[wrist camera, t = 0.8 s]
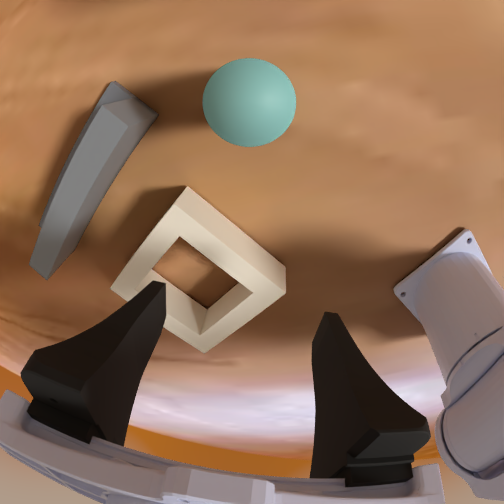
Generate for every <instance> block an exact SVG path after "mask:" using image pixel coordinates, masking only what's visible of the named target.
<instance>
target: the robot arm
mask: <svg viewBox="0 0 504 504" xmlns="http://www.w3.org/2000/svg"><path fill="white" fill-rule="evenodd" d="M469 238H470V239H469ZM468 239H469V240H468ZM467 240H468V241H467ZM393 291H394V293H395V295H396V296H397V297H398V298H399V299H400V300H401V301H402V303H403V304H404V305H405V306H406V307H407V308H408V309H409V310H410V311H411V313H412V314H413V315H414V316H415V317H416V318H417V319H418V321H419V322H420V323H421V324H422V325H423V328H424V330H425V332H426V335H427V337H428V339H429V342H430V344H431V347H432V349H433V352H434V354H435V357H436V359H437V362H438V365H439V367H440V370H441V373H442V375H443V378H444V381H445V384H446V386H447V388H446V390H445V391H444V393H443V394H442V395H441V398H442V401H443V405H444V408H445V409H443V410H442V412H441V413H440V414H439V416H438V418H437V421H436V424H435V440H436V445H437V448H438V451H439V454H440V456H441V458H442V459H443V461H444V462H445V464H446V465H447V466H448V467H449V468H450V469H451V470H452V471H453V472H454V473H456V474H457V475H459V476H460V477H462V478H463V479H464V480H465V481H466V482H467V483H468V484H469V486H470V488H471V489H472V491H473V493H474V494H475V496H476V497H479V498H484V499H491V500H501V501H504V290H503V288H502V287H501V286H500V284H499V283H498V282H497V280H496V279H495V278H494V276H493V275H492V273H491V271H490V268H489V266H488V264H487V262H486V260H485V258H484V256H483V254H482V252H481V250H480V248H479V246H478V244H477V242H476V240H475V238H474V236H473V235H472V233H471V231H470V230H469V229H464V230H463V231H462V232H460V233H459V234H458V235H457V236H456V237H455V238H454V239H452V240H451V241H450V242H449V243H448V244H447V245H445V246H444V247H443V248H442V249H441V250H440V251H438V252H437V253H436V254H435V255H434V256H432V257H431V258H430V259H429V260H427V261H426V262H425V263H424V264H422V265H421V266H420V267H419V268H417V269H416V270H415V271H414V272H412V273H411V274H410V275H409V276H407V277H406V278H405V279H403V280H402V281H401V282H400V283H398V284H397V285H396V286H395V287H394V289H393ZM402 292H404V293H403V294H401V293H402ZM165 319H166V283H163V282H159V281H154V280H153V281H152V282H150V283H149V284H148V285H147V286H146V287H145V288H144V289H142V290H141V291H140V292H139V293H138V294H137V295H136V296H134V297H133V298H132V299H131V300H130V301H128V302H127V303H126V304H125V305H124V306H122V307H121V308H120V309H118V310H117V311H116V312H114V313H113V314H112V315H110V316H109V317H108V318H106V319H105V320H103V321H102V322H100V323H98V324H97V325H95V326H94V327H92V328H90V329H88V330H86V331H84V332H82V333H80V334H78V335H76V336H74V337H72V338H70V339H67V340H65V341H62V342H60V343H57V344H54V345H51V346H48V347H44V348H41V349H38V350H35V351H34V353H33V354H32V355H31V357H30V358H29V360H28V362H27V363H26V365H25V366H24V368H23V370H22V371H21V378H22V380H23V382H24V384H25V385H26V387H27V389H28V390H29V392H30V393H31V395H32V396H33V400H32V402H31V403H30V402H29V401H27V400H26V399H24V398H23V397H21V396H19V395H17V394H15V393H13V392H12V391H10V390H6V391H5V393H4V394H3V396H2V398H1V400H0V447H1V448H2V449H3V450H5V451H6V452H7V453H8V454H9V455H10V456H12V457H14V458H15V459H17V460H19V461H20V462H22V463H24V464H25V465H27V466H29V467H30V468H32V469H34V470H36V471H38V472H39V473H41V474H43V475H44V476H46V477H48V478H50V479H52V480H54V481H56V482H58V483H59V484H61V485H64V486H65V487H67V488H69V489H72V490H74V491H76V492H78V493H80V494H82V495H84V496H86V497H89V498H91V499H93V500H96V501H98V502H100V503H103V504H445V499H444V492H443V486H442V481H441V475H440V470H439V465H438V464H437V463H435V464H429V465H422V466H417V467H414V468H412V466H411V463H412V462H414V455H413V454H414V453H415V452H416V451H418V450H419V449H420V448H421V447H423V446H424V445H425V444H426V443H427V442H428V441H429V439H430V437H431V434H430V430H429V425H428V422H427V419H426V417H425V416H423V415H422V414H420V413H419V412H418V411H416V410H415V409H413V408H412V407H411V406H409V405H408V404H407V403H406V402H405V401H403V400H402V399H401V398H400V397H399V396H398V395H397V394H395V393H394V392H393V391H392V390H391V389H390V388H389V387H388V386H387V385H386V383H385V382H384V381H383V380H382V379H381V378H380V377H379V376H378V374H377V373H376V372H375V371H374V370H373V368H372V367H371V366H370V364H369V363H368V362H367V360H366V359H365V357H364V356H363V355H362V353H361V352H360V350H359V348H358V347H357V345H356V344H355V342H354V340H353V339H352V337H351V335H350V334H349V332H348V330H347V329H346V327H345V325H344V323H343V322H342V320H341V318H340V317H339V315H338V313H331V312H325V313H324V315H323V318H322V320H321V323H320V325H319V327H318V330H317V332H316V335H315V337H314V339H313V342H312V371H313V382H314V392H315V406H316V414H315V434H314V447H313V456H312V465H311V472H310V478H288V477H274V476H262V475H253V474H244V473H237V472H229V471H224V470H217V469H211V468H206V467H201V466H195V465H191V464H186V463H181V462H177V461H173V460H169V459H165V458H161V457H157V456H153V455H150V454H146V453H143V452H139V451H136V450H132V449H129V448H126V447H124V441H125V437H126V432H127V427H128V423H129V419H130V415H131V411H132V407H133V404H134V400H135V396H136V393H137V390H138V387H139V383H140V380H141V377H142V375H143V372H144V370H145V368H146V366H147V363H148V361H149V359H150V357H151V355H152V352H153V350H154V348H155V346H156V344H157V341H158V339H159V337H160V335H161V332H162V329H163V325H164V322H165Z"/></svg>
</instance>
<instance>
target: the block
mask: <svg viewBox="0 0 504 504" xmlns="http://www.w3.org/2000/svg"><path fill="white" fill-rule="evenodd" d="M179 236H180V237H181V238H183V239H184V240H185V241H187V242H188V243H189V244H190V245H192V246H193V247H194V248H195V249H197V250H198V251H199V252H201V253H202V254H203V255H204V256H206V257H207V258H208V259H210V260H211V261H212V262H214V263H215V264H216V265H217V266H219V267H220V268H221V269H223V270H224V271H225V272H227V273H228V274H229V275H230V276H232V277H233V278H234V279H236V280H237V281H238V282H239V283H238V284H236V285H235V286H234V287H233V288H232V289H231V290H230V291H228V292H227V293H226V294H225V295H224V296H223V297H221V298H220V299H219V300H218V301H217V302H216V303H214V304H213V305H212V306H211V307H210V308H209V309H206V308H204V307H203V306H201V305H200V304H199V303H197V302H196V301H194V300H193V299H192V298H190V297H189V296H187V295H186V294H185V293H183V292H182V291H181V290H179V289H178V288H176V287H175V286H174V285H172V284H171V283H170V282H168V281H167V280H166V279H164V278H163V277H162V276H160V275H159V274H158V273H156V272H155V271H154V270H152V268H153V267H154V265H155V264H156V263H157V262H158V261H159V260H160V258H161V257H162V256H163V255H164V254H165V252H166V251H167V250H168V249H169V248H170V247H171V245H172V244H173V243H174V242H175V241H176V240H177V239H178V237H179ZM153 280H154V281H159V282H163V283H166V319H165V322H164V325H163V327H164V328H166V329H167V330H169V331H170V332H172V333H173V334H175V335H176V336H178V337H179V338H181V339H182V340H184V341H185V342H187V343H188V344H190V345H192V346H193V347H195V348H196V349H198V350H199V351H201V352H203V353H206V352H207V351H209V350H210V349H211V348H213V347H214V346H216V345H217V344H218V343H220V342H221V341H223V340H224V339H225V338H227V337H228V336H229V335H231V334H232V333H234V332H235V331H236V330H238V329H239V328H240V327H242V326H243V325H244V324H246V323H247V322H248V321H250V320H251V319H252V318H254V317H255V316H256V315H258V314H259V313H260V312H262V311H263V310H264V309H266V308H267V307H268V306H270V305H271V304H272V303H274V302H275V301H276V300H278V299H279V298H280V297H281V296H283V295H284V294H285V293H286V267H285V266H284V265H282V264H281V263H280V262H279V261H278V260H276V259H275V258H274V257H273V256H272V255H270V254H269V253H268V252H267V251H266V250H264V249H263V248H262V247H261V246H260V245H258V244H257V243H256V242H255V241H254V240H252V239H251V238H250V237H249V236H248V235H246V234H245V233H244V232H243V231H242V230H240V229H239V228H238V227H237V226H236V225H234V224H233V223H232V222H231V221H229V220H228V219H227V218H226V217H225V216H223V215H222V214H221V213H220V212H219V211H217V210H216V209H215V208H214V207H212V206H211V205H210V204H209V203H208V202H206V201H205V200H204V199H203V198H202V197H200V196H199V195H198V194H197V193H195V192H194V191H193V190H192V189H191V188H189V187H188V186H187V187H186V189H185V190H184V191H183V192H182V193H181V195H180V196H179V197H178V198H177V199H176V201H175V202H174V203H173V204H172V206H171V207H170V208H169V209H168V211H167V212H166V213H165V214H164V216H163V217H162V218H161V219H160V221H159V222H158V223H157V224H156V226H155V227H154V228H153V230H152V231H151V232H150V233H149V235H148V236H147V237H146V239H145V240H144V241H143V243H142V244H141V245H140V247H139V248H138V249H137V251H136V252H135V253H134V255H133V256H132V257H131V259H130V260H129V261H128V263H127V264H126V266H125V267H124V268H123V270H122V271H121V273H120V274H119V276H118V277H117V279H116V280H115V282H114V283H113V285H112V286H111V288H110V289H111V290H113V291H114V292H115V293H117V294H118V295H119V296H121V297H122V298H123V299H125V300H126V301H127V302H128V301H130V300H131V299H132V298H133V297H134V296H136V295H137V294H138V293H139V292H140V291H141V290H142V289H144V288H145V287H146V286H147V285H148V284H149V283H150V282H152V281H153Z"/></svg>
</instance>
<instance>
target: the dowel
mask: <svg viewBox="0 0 504 504" xmlns="http://www.w3.org/2000/svg"><path fill="white" fill-rule="evenodd" d="M295 110H296V95H295V91H294V88H293V86H292V84H291V82H290V80H289V79H288V77H287V76H286V75H285V74H284V73H283V72H282V71H281V70H280V69H279V68H278V67H276V66H275V65H273V64H271V63H269V62H267V61H264V60H260V59H253V58H245V59H238V60H235V61H232V62H229V63H227V64H225V65H224V66H222V67H221V68H219V69H218V70H217V71H216V72H215V73H214V74H213V75H212V76H211V78H210V79H209V81H208V83H207V85H206V87H205V90H204V94H203V111H204V115H205V118H206V120H207V122H208V124H209V125H210V127H211V128H212V130H213V131H214V132H215V133H216V134H217V135H218V136H220V137H221V138H222V139H224V140H226V141H227V142H230V143H232V144H235V145H238V146H244V147H254V146H260V145H264V144H267V143H270V142H272V141H274V140H275V139H277V138H278V137H279V136H281V135H282V134H283V133H284V132H285V131H286V130H287V128H288V127H289V125H290V124H291V122H292V120H293V117H294V114H295Z"/></svg>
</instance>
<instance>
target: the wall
mask: <svg viewBox="0 0 504 504" xmlns="http://www.w3.org/2000/svg"><path fill="white" fill-rule="evenodd" d="M158 115H159V114H157V113H156V112H155V111H154V110H152V109H151V108H150V107H149V106H147V105H146V104H145V103H143V102H142V101H141V100H140V99H138V98H137V97H136V96H134V95H133V94H132V93H131V92H129V91H128V90H127V89H125V88H124V87H123V86H121V85H120V84H119V83H118V82H116V81H113V82H111V83H110V85H109V86H108V88H107V89H106V91H105V92H104V94H103V95H102V97H101V99H100V100H99V102H98V104H97V105H96V107H95V109H94V110H93V112H92V114H91V115H90V117H89V119H88V121H87V122H86V124H85V126H84V128H83V129H82V131H81V133H80V135H79V137H78V139H77V141H76V143H75V144H74V146H73V148H72V150H71V152H70V154H69V156H68V158H67V160H66V162H65V164H64V167H63V169H62V171H61V173H60V175H59V177H58V179H57V182H56V184H55V186H54V189H53V191H52V193H51V196H50V198H49V200H48V203H47V205H46V208H45V210H44V213H43V215H42V218H41V221H40V223H39V226H40V227H41V231H40V233H39V236H38V239H37V242H36V245H35V247H34V250H33V253H32V256H31V259H30V263H29V265H30V266H31V267H32V268H33V269H34V270H36V271H37V272H38V273H39V274H40V275H41V276H42V277H44V278H45V279H46V280H48V279H49V278H50V277H51V275H52V274H53V273H54V272H55V271H56V270H57V269H58V268H59V266H60V265H61V264H62V263H63V262H64V261H65V260H66V259H67V258H68V257H69V255H70V254H71V253H72V252H73V251H74V250H75V248H76V246H77V244H78V242H79V240H80V239H81V237H82V235H83V233H84V231H85V229H86V227H87V225H88V224H89V222H90V220H91V218H92V216H93V215H94V213H95V211H96V209H97V208H98V206H99V204H100V202H101V201H102V199H103V197H104V196H105V194H106V192H107V191H108V189H109V187H110V186H111V184H112V183H113V181H114V179H115V178H116V176H117V175H118V173H119V171H120V170H121V168H122V167H123V165H124V164H125V162H126V161H127V159H128V158H129V156H130V155H131V153H132V152H133V150H134V149H135V147H136V146H137V144H138V143H139V142H140V140H141V139H142V137H143V136H144V134H145V133H146V132H147V130H148V129H149V127H150V126H151V125H152V123H153V122H154V121H155V119H156V118H157V117H158Z"/></svg>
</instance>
